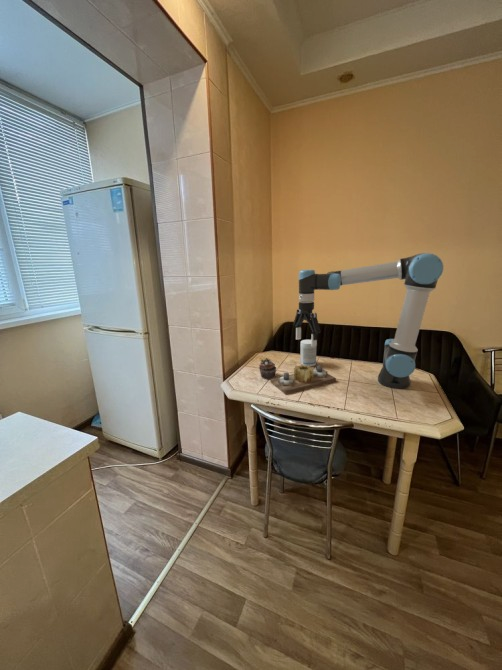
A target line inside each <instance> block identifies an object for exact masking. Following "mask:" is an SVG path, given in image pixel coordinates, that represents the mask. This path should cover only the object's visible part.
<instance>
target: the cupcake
mask: <svg viewBox="0 0 502 670" xmlns="http://www.w3.org/2000/svg"><path fill="white" fill-rule="evenodd" d="M258 369H259V371H260V372H259V373H260V376H261V378H262V379H265V380H269V379H270V380H271V379H274V378H276V372H277V367H276V364H275V363H274V362H273V361H272V360H271V359H268V358H265V359H261V360H260V363H259V367H258Z"/></svg>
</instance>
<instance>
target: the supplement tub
mask: <svg viewBox="0 0 502 670" xmlns="http://www.w3.org/2000/svg"><path fill="white" fill-rule="evenodd" d="M299 348H300V351H299V352H300V354H299V355H300V357H299V358H300V359H299V360H300V365H306V366H307V365H310V367H314V366H316V365H317V346H313V347H312V346H311V339H302V340H301V341H300V347H299Z"/></svg>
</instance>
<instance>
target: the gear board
mask: <svg viewBox="0 0 502 670" xmlns="http://www.w3.org/2000/svg"><path fill="white" fill-rule="evenodd" d="M301 370H306V369H301ZM336 382H337V378H336V377H335V376H333V375H331V374H329V373H328V371H327V370H325V369H324V368H323V365H321V364H320V365H319V364H315V368H314V373H313V379H312V381H308V382H307V383H304V382H301V381H300V382H297V380H296V379H294V373H292V374H289V372H284V373H283V375H282V376H279V377H274V378H271V379H270V383H271V384H272V385H273V386H275V387H276V388H277V389H278V390H279V391H281V392H282V393H283V394H284V395H289V394H293V393H297V392H300V391H304V390H308V389H311V388H315V387H320V386H324V385H327V384H332V383H336Z"/></svg>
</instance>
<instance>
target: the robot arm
mask: <svg viewBox="0 0 502 670" xmlns="http://www.w3.org/2000/svg"><path fill="white" fill-rule="evenodd" d="M443 272H444V263H443V261H442V259H441V258H440V257H439V256H438V255H437V254H434V253H430V252H427V253H424V252H422V253H417V254H415V255H412V256H408V257H404V258H399V259H397V260H396V261H391V262H386V263H380V264H374V265H367V266H361V267H354V268H348V269H341V270H335V271H334V270H333V271H328V272H327V273H316V271H315V270H314V269H301V270H300V271H299V273H298V301H299V302H298V309H296V313H295V317H294V319H293V326H294V328H295V340H298V341H299V340H301V339H302V324H303V323H304V321H306V322H307V323H308V325H309V327H310V331H311V338H310V340H311V346H312V347H313V346H316V347H317V346H318V343H317V342H318V334H320V333H321V327H320V324H319V320H318V316H317V315H318V314H317V312H313V310H314V309H315V302H314V301H315V290H319V291H320V290H325V291H334V290H335V291H336V290H340V288H341V286H346V285H354V284H355V285H356V284H361V283H369V282H371V283H372V282H376V281H377V282H378V281H384V280H385V281H386V280H393V279H399V280H404V283H403V285H404V287H405V288H406V292H405V296H404V300H403V304H402V307H401V311H400V315H399V318H398V319H399V320H398V323H397V328H396V331H395V334H394V338H388V339H386V340H385V342H384V352H383V360H382V367H381V370H379V373H378V376H377V382H378V383H379V384H380V385H382V386H385V387H387V388H391V389H398V390H399V389H400V390H401V389H407V388H409V387H410V386H411V383H412V381H411V377H410V375H412V374H413V373H414V371H415V369H416V357H417V354H418V350H419V349H418V348H417V346H416V343H417V339H418V336H419V333H420V329H421V325H422V321H423V317H424V315H425V312H426V308H427V307H426V306H427V305H428V304H427V303H428V300H429V297H430V294H431V292H432V291H434V290H436V287H437V285H438V280H439V279H440V277H441V276H442V275H443Z"/></svg>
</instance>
